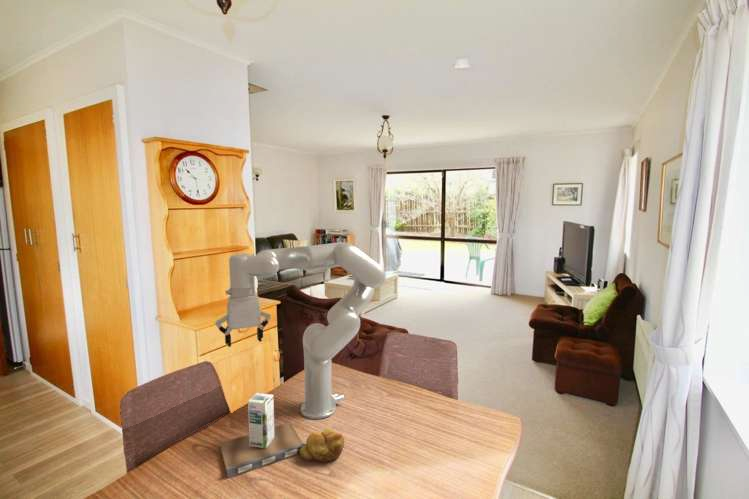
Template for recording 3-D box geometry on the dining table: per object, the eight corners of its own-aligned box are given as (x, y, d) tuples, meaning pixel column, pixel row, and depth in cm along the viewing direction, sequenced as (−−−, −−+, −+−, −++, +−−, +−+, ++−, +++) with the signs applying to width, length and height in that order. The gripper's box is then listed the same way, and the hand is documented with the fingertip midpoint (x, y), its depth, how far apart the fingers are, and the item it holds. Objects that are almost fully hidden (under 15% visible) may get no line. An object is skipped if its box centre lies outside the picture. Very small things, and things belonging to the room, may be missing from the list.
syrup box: (248, 446, 113) (246, 401, 111) (258, 434, 119) (256, 391, 117) (266, 449, 112) (264, 403, 110) (275, 437, 118) (274, 393, 116)
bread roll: (299, 467, 106) (298, 441, 105) (301, 445, 116) (301, 421, 115) (344, 464, 108) (344, 438, 107) (343, 443, 117) (343, 419, 116)
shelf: (290, 426, 126) (290, 419, 125) (305, 452, 113) (305, 445, 112) (219, 447, 115) (219, 439, 115) (228, 478, 102) (227, 470, 101)
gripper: (215, 297, 114) (218, 351, 117) (272, 291, 123) (273, 341, 125) (212, 292, 121) (214, 343, 123) (266, 287, 129) (268, 335, 132)
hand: (244, 342), depth 124 cm, fingers open, 9 cm apart
